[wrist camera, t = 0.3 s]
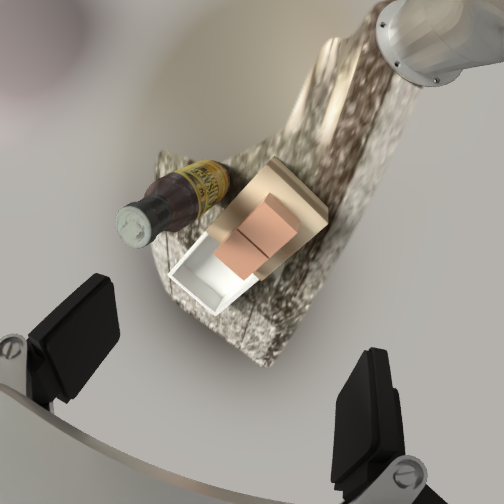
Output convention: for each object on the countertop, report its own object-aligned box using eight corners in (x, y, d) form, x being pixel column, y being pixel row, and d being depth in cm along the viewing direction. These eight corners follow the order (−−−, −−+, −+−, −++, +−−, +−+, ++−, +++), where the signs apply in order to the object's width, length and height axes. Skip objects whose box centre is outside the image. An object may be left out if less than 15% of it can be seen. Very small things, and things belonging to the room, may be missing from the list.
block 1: (243, 218, 38) (236, 229, 35) (273, 245, 39) (268, 258, 36) (221, 241, 40) (212, 253, 37) (250, 266, 41) (243, 280, 38)
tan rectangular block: (274, 156, 39) (266, 164, 34) (328, 207, 41) (328, 223, 36) (219, 215, 45) (205, 231, 40) (269, 260, 47) (261, 281, 41)
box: (219, 215, 45) (209, 226, 41) (269, 260, 47) (263, 275, 43) (178, 261, 51) (167, 275, 47) (223, 300, 52) (215, 316, 48)
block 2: (269, 192, 36) (263, 201, 33) (300, 221, 36) (297, 232, 33) (244, 217, 38) (237, 228, 35) (274, 244, 39) (269, 257, 36)
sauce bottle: (237, 194, 43) (176, 261, 26) (198, 203, 45) (124, 270, 28) (224, 150, 41) (149, 189, 23) (185, 162, 43) (97, 207, 25)
